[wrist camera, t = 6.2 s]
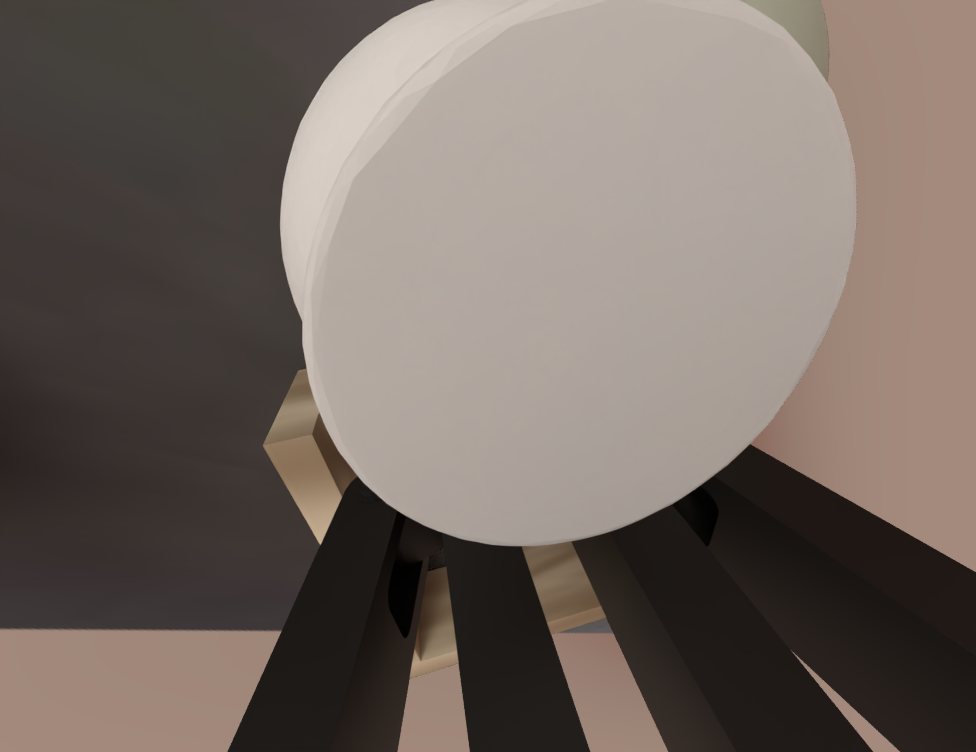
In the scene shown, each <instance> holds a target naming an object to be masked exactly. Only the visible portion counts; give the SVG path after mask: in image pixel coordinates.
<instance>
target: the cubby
mask: <svg viewBox="0 0 976 752" xmlns="http://www.w3.org/2000/svg"><path fill="white" fill-rule="evenodd" d="M263 447H264V449H265V450H266V452H267V454H268V455H269V457H270V459H271V461H272V462H273V464H274V466H275V468H276V469H277V471H278V473H279V474H280V476H281V478H282V480H283V481H284V483H285V485H286V487H287V488H288V490H289V492H290V493H291V495H292V497H293V499H294V500H295V502H296V504H297V505H298V507H299V509H300V511H301V512H302V514H303V516H304V518H305V519H306V521H307V523H308V524H309V526H310V528H311V530H312V531H313V533H314V535H315V537H316V538H317V540H318V542H319V543H320V545H321V543H322V541H323V538H324V536H325V534H326V532H327V530H328V527H329V525H330V523H331V521H332V518H333V516H334V514H335V512H336V510H337V507H338V505H339V503H340V501H341V498H342V496H343V494H344V492H345V490H346V488H347V487H348V486H349V484H350V483H351V481H353V480H354V479H355V478H356V477H357V474H356V473H355V472H354V471H353V469H352V468H351V467H350V465H349V464H348V463H347V462H346V460H345V459H344V458H343V456H342V455H341V454H340V452H339V451H338V450H337V448H336V446H335V444H334V442H333V440H332V438H331V437H330V435H329V433H328V431H327V429H326V427H325V425H324V422H323V420H322V417H321V415H320V413H319V410H318V408H317V405H316V403H315V400H314V397H313V394H312V390H311V387H310V384H309V379H308V373H307V369H303V370H298V372H297V374H296V377H295V379H294V381H293V383H292V385H291V387H290V389H289V391H288V393H287V396H286V398H285V400H284V402H283V404H282V406H281V408H280V410H279V412H278V415H277V417H276V419H275V421H274V423H273V425H272V427H271V429H270V431H269V433H268V436H267V438H266V440H265V442H264V444H263ZM522 549H523V552H524V555H525V558H526V561H527V564H528V567H529V570H530V573H531V576H532V579H533V582H534V585H535V588H536V591H537V594H538V597H539V600H540V603H541V606H542V609H543V612H544V615H545V618H546V621H547V624H548V627H549V630H550V633H551V635H552V634H555V633H558V632H561V631H565V630H568V629H571V628H574V627H577V626H581V625H584V624H587V623H590V622H593V621H597V620H600V619H603V618H606V616H605V614H604V611H603V609H602V607H601V605H600V603H599V601H598V598H597V596H596V594H595V592H594V590H593V588H592V586H591V583H590V581H589V579H588V577H587V575H586V573H585V570H584V568H583V566H582V564H581V562H580V560H579V557H578V555H577V553H576V551H575V549H574V547H573V544H572V542H571V541H570V542H564V543H558V544H551V545H541V546H522ZM456 664H459V662H458V655H457V647H456V639H455V631H454V623H453V616H452V608H451V600H450V592H449V584H448V577H447V569H446V567H442V568H439V569H435V570H431V571H428V572H427V577H426V583H425V589H424V595H423V601H422V607H421V613H420V619H419V625H418V631H417V637H416V643H415V649H414V655H413V661H412V667H411V673H410V679H411V678H414V677H418V676H421V675H424V674H427V673H430V672H434V671H437V670H440V669H443V668H446V667H449V666H453V665H456Z"/></svg>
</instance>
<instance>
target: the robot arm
mask: <svg viewBox="0 0 976 752" xmlns="http://www.w3.org/2000/svg"><path fill="white" fill-rule="evenodd" d="M571 542H572V544H573V547H574V549H575V551H576V553H577V555H578V557H579V560H580V562H581V564H582V566H583V568H584V570H585V573H586V575H587V577H588V579H589V581H590V583H591V586H592V588H593V590H594V592H595V594H596V596H597V598H598V601H599V603H600V605H601V607H602V609H603V611H604V614H605V616H606V618H607V620H608V622H609V624H610V627H611V629H612V631H613V633H614V635H615V637H616V640H617V642H618V644H619V646H620V648H621V650H622V652H623V655H624V657H625V659H626V661H627V663H628V666H629V668H630V670H631V672H632V674H633V676H634V679H635V681H636V683H637V685H638V687H639V689H640V691H641V693H642V696H643V698H644V700H645V702H646V704H647V707H648V709H649V711H650V713H651V715H652V717H653V720H654V722H655V724H656V726H657V728H658V730H659V733H660V735H661V737H662V739H663V741H664V743H665V745H666V747H667V750H668V752H873V751H872V750H871V749H870V747H869V746H868V745H867V744H866V742H865V741H864V740H863V739H862V737H861V736H860V735H859V734H858V733H857V731H856V730H855V729H854V728H853V726H852V725H851V724H850V723H849V722H848V720H847V719H846V718H845V717H844V715H843V714H842V713H841V712H840V710H839V709H838V708H837V707H836V706H835V704H834V703H833V702H832V701H831V699H830V698H829V697H828V696H827V694H826V693H825V692H824V691H823V689H822V688H821V687H820V686H819V684H818V683H817V682H816V681H815V680H814V678H813V677H812V676H811V675H810V674H809V672H808V671H807V670H806V669H805V667H804V666H803V665H802V664H801V663H800V661H799V660H798V659H797V657H796V656H795V655H794V654H793V653H792V651H793V652H794V653H795V654H796V655H797V656H798V657H799V658H800V659H801V660H802V661H803V662H804V663H806V664H807V665H808V666H809V667H810V668H811V669H812V670H813V671H814V672H815V673H816V674H817V675H819V677H820V678H822V679H823V680H824V681H825V682H826V683H827V684H828V685H829V686H830V687H831V688H832V689H834V691H836V692H837V693H838V694H839V695H840V696H841V697H842V698H843V699H844V700H845V701H846V702H847V703H849V704H850V705H851V706H852V707H853V708H854V709H855V710H856V711H857V712H858V713H859V714H860V715H861V716H863V717H864V718H865V719H866V720H867V721H868V722H869V723H870V724H871V725H872V726H873V727H874V728H875V729H876V730H878V731H879V732H880V733H881V734H882V735H883V736H884V737H885V738H886V739H887V740H888V741H889V742H890V743H892V744H893V745H894V746H895V747H896V748H897V749H898V750H899V751H900V752H976V572H974V571H973V570H971V569H969V568H967V567H966V566H964V565H962V564H960V563H958V562H957V561H955V560H953V559H951V558H950V557H948V556H946V555H944V554H943V553H941V552H939V551H937V550H936V549H934V548H932V547H930V546H929V545H927V544H925V543H923V542H921V541H920V540H918V539H916V538H914V537H913V536H911V535H909V534H907V533H906V532H904V531H902V530H900V529H899V528H897V527H895V526H893V525H892V524H890V523H888V522H886V521H884V520H882V519H881V518H879V517H877V516H876V515H874V514H872V513H870V512H869V511H867V510H865V509H863V508H861V507H860V506H858V505H856V504H855V503H853V502H851V501H849V500H847V499H846V498H844V497H842V496H840V495H839V494H837V493H835V492H833V491H831V490H830V489H828V488H826V487H824V486H823V485H821V484H819V483H818V482H816V481H814V480H812V479H810V478H809V477H806V476H805V475H803V474H801V473H800V472H798V471H796V470H795V469H793V468H791V467H789V466H788V465H786V464H784V463H782V462H780V461H779V460H777V459H775V458H773V457H772V456H770V455H768V454H766V453H765V452H763V451H761V450H759V449H758V448H756V447H754V446H752V445H751V444H749V445H748V446H747V447H746V448H745V449H744V450H743V451H742V452H741V453H740V454H739V455H738V456H737V457H736V458H735V459H734V460H732V461H731V462H730V463H729V464H728V465H727V466H726V467H724V468H723V469H722V470H720V471H719V472H718V473H716V474H715V475H714V476H712V477H711V478H710V479H708V480H707V481H706V482H704V483H703V484H702V485H700V486H699V487H697V488H696V489H695V490H693V491H692V492H690V493H689V494H687V495H686V496H684V497H683V498H681V499H680V500H678V501H677V502H675V503H673V504H671V505H669V506H667V507H665V508H663V509H661V510H659V511H657V512H655V513H653V514H651V515H649V516H647V517H645V518H643V519H641V520H639V521H637V522H634V523H632V524H629V525H627V526H624V527H622V528H620V529H617V530H613V531H610V532H607V533H604V534H601V535H597V536H593V537H589V538H585V539H581V540H576V541H571ZM443 547H444V553H445V561H446V569H447V577H448V584H449V592H450V600H451V608H452V616H453V623H454V631H455V639H456V647H457V655H458V662H459V669H460V677H461V686H462V693H463V701H464V709H465V717H466V725H467V732H468V740H469V748H470V752H590V750H589V747H588V744H587V741H586V738H585V735H584V732H583V729H582V726H581V723H580V720H579V717H578V714H577V711H576V708H575V705H574V702H573V699H572V696H571V693H570V690H569V688H568V684H567V681H566V678H565V675H564V672H563V669H562V666H561V663H560V660H559V657H558V654H557V651H556V648H555V645H554V642H553V639H552V636H551V633H550V630H549V627H548V624H547V621H546V618H545V615H544V612H543V609H542V606H541V603H540V600H539V597H538V594H537V591H536V588H535V585H534V582H533V579H532V576H531V573H530V570H529V567H528V564H527V561H526V558H525V555H524V552H523V549H522V546H501V545H490V544H485V543H480V542H474V541H469V540H464V539H460V538H457V537H454V536H451V535H448V534H445V533H442V532H439V531H436V530H434V529H432V528H429V527H427V526H424V525H422V524H420V523H419V522H417V521H415V520H413V519H411V518H409V517H407V516H405V515H404V514H402V513H400V512H399V511H397V510H396V509H394V508H393V507H391V506H390V505H388V504H387V503H385V502H384V501H383V500H382V499H381V498H380V497H379V496H378V495H377V494H376V493H374V492H373V491H372V490H371V489H370V488H369V487H368V486H367V485H365V484H364V483H363V482H362V480H361V479H360V478H359V477H358V476H357V477H356V478H355V479H354V480H353V481H351V483H350V484H349V486H348V487H347V488H346V490H345V492H344V494H343V496H342V498H341V501H340V503H339V505H338V507H337V510H336V512H335V514H334V516H333V518H332V521H331V523H330V525H329V527H328V530H327V532H326V534H325V536H324V538H323V541H322V543H321V545H320V547H319V550H318V552H317V554H316V556H315V558H314V561H313V563H312V565H311V567H310V570H309V572H308V574H307V576H306V578H305V581H304V583H303V585H302V587H301V590H300V592H299V594H298V596H297V598H296V601H295V603H294V605H293V607H292V610H291V612H290V614H289V616H288V618H287V621H286V623H285V625H284V627H283V630H282V632H281V634H280V636H279V639H278V641H277V643H276V645H275V647H274V650H273V652H272V654H271V656H270V659H269V661H268V663H267V665H266V667H265V670H264V672H263V674H262V676H261V678H260V681H259V683H258V685H257V687H256V690H255V692H254V694H253V696H252V699H251V701H250V703H249V705H248V707H247V710H246V712H245V714H244V716H243V718H242V721H241V723H240V725H239V727H238V730H237V732H236V734H235V736H234V738H233V741H232V743H231V745H230V747H229V750H228V752H397V750H398V745H399V738H400V732H401V726H402V721H403V715H404V708H405V702H406V697H407V691H408V685H409V679H410V673H411V667H412V661H413V655H414V649H415V643H416V637H417V631H418V625H419V619H420V613H421V607H422V601H423V595H424V589H425V583H426V577H427V571H428V565H429V556H430V555H432V554H433V553H435V552H436V551H438V550H440V549H441V548H443Z"/></svg>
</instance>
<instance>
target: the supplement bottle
mask: <svg viewBox="0 0 976 752" xmlns="http://www.w3.org/2000/svg"><path fill="white" fill-rule="evenodd" d="M856 198H857V196H856V169H855V164H854V160H853V154H852V149H851V145H850V140H849V137H848V134H847V131H846V127H845V124H844V120H843V117H842V115H841V111H840V109H839V106H838V103H837V100H836V97H835V94H834V92H833V91H832V89H831V88H830V86H829V85H828V83H827V82H826V80H825V79H824V77H823V76H822V74H821V73H820V71H819V70H818V68H817V67H816V65H815V63H814V62H813V60H812V59H811V57H810V56H809V55H808V54H807V53H806V52H805V51H804V50H803V48H802V47H801V46H800V45H799V44H798V43H797V42H796V41H795V40H794V38H793V37H792V36H791V35H790V34H789V33H788V32H787V31H786V30H785V28H784V27H782V26H781V25H779V24H778V23H776V22H775V21H773V20H772V19H770V18H769V17H767V16H766V15H764V14H763V13H761V12H760V11H758V10H756V9H755V8H753V7H751V6H750V5H748V4H746V3H744V2H742V1H740V0H434V1H430V2H427V3H424V4H421V5H418V6H416V7H414V8H412V9H410V10H408V11H406V12H404V13H402V14H400V15H398V16H396V17H394V18H392V19H391V20H389V21H388V22H386V23H385V24H384V25H382V26H381V27H379V28H378V29H377V30H375V31H374V32H372V33H371V34H370V35H368V36H367V37H365V38H364V39H363V40H362V41H361V42H360V43H359V44H358V45H357V46H355V47H354V48H353V49H352V50H351V51H350V52H349V53H348V54H347V55H346V56H345V57H344V58H343V59H342V60H341V61H340V62H339V63H338V65H337V66H336V67H335V68H334V70H333V71H332V72H331V73H330V74H329V76H328V77H327V78H326V79H325V81H324V82H323V84H322V86H321V87H320V89H319V91H318V92H317V94H316V96H315V97H314V99H313V101H312V103H311V104H310V106H309V108H308V110H307V112H306V114H305V116H304V117H303V119H302V121H301V123H300V126H299V129H298V131H297V134H296V137H295V140H294V143H293V147H292V150H291V154H290V157H289V161H288V164H287V169H286V174H285V178H284V183H283V192H282V202H281V217H280V232H281V246H282V256H283V262H284V266H285V270H286V275H287V279H288V283H289V286H290V289H291V293H292V296H293V299H294V302H295V305H296V307H297V310H298V312H299V314H300V317H301V319H302V321H303V329H302V344H303V350H304V355H305V361H306V367H307V373H308V379H309V384H310V387H311V390H312V394H313V397H314V400H315V403H316V405H317V408H318V410H319V413H320V415H321V417H322V420H323V422H324V425H325V427H326V429H327V431H328V433H329V435H330V437H331V438H332V440H333V442H334V444H335V446H336V448H337V450H338V451H339V452H340V454H341V455H342V456H343V458H344V459H345V460H346V462H347V463H348V464H349V465H350V467H351V468H352V469H353V471H354V472H355V473H356V474H357V476H358V477H359V478H360V479H361V480H362V482H363V483H364V484H365V485H367V486H368V487H369V488H370V489H371V490H372V491H373V492H374V493H376V494H377V495H378V496H379V497H380V498H381V499H382V500H383V501H384V502H385V503H387V504H388V505H390V506H391V507H393V508H394V509H396V510H397V511H399V512H400V513H402V514H404V515H405V516H407V517H409V518H411V519H413V520H415V521H417V522H419V523H420V524H422V525H424V526H427V527H429V528H432V529H434V530H436V531H439V532H442V533H445V534H448V535H451V536H454V537H457V538H460V539H464V540H469V541H474V542H480V543H485V544H490V545H501V546H541V545H551V544H558V543H564V542H570V541H576V540H581V539H585V538H589V537H593V536H597V535H601V534H604V533H607V532H610V531H613V530H617V529H620V528H622V527H624V526H627V525H629V524H632V523H634V522H637V521H639V520H641V519H643V518H645V517H647V516H649V515H651V514H653V513H655V512H657V511H659V510H661V509H663V508H665V507H667V506H669V505H671V504H673V503H675V502H677V501H678V500H680V499H681V498H683V497H684V496H686V495H687V494H689V493H690V492H692V491H693V490H695V489H696V488H697V487H699V486H700V485H702V484H703V483H704V482H706V481H707V480H708V479H710V478H711V477H712V476H714V475H715V474H716V473H718V472H719V471H720V470H722V469H723V468H724V467H726V466H727V465H728V464H729V463H730V462H731V461H732V460H734V459H735V458H736V457H737V456H738V455H739V454H740V453H741V452H742V451H743V450H744V449H745V448H746V447H747V446H748V445H749V444H751V443H752V442H753V441H754V440H755V438H756V437H757V436H758V435H759V434H760V433H761V432H762V431H763V430H764V429H765V428H766V426H767V425H768V424H769V423H770V422H771V421H772V419H773V418H774V417H775V415H776V414H777V412H778V411H779V410H780V408H781V407H782V405H783V404H784V403H785V401H786V400H787V399H788V397H789V396H790V395H791V393H792V392H793V391H794V389H795V388H796V386H797V385H798V383H799V381H800V380H801V378H802V376H803V375H804V373H805V371H806V370H807V368H808V367H809V365H810V363H811V362H812V360H813V358H814V356H815V354H816V352H817V350H818V348H819V347H820V345H821V343H822V341H823V339H824V337H825V335H826V334H827V331H828V329H829V326H830V323H831V321H832V318H833V316H834V313H835V311H836V308H837V305H838V303H839V300H840V298H841V295H842V292H843V290H844V287H845V283H846V278H847V274H848V269H849V265H850V262H851V258H852V253H853V247H854V240H855V232H856V225H857V223H856V222H857V208H856V207H857V205H856V204H857V201H856V200H857V199H856Z"/></svg>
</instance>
